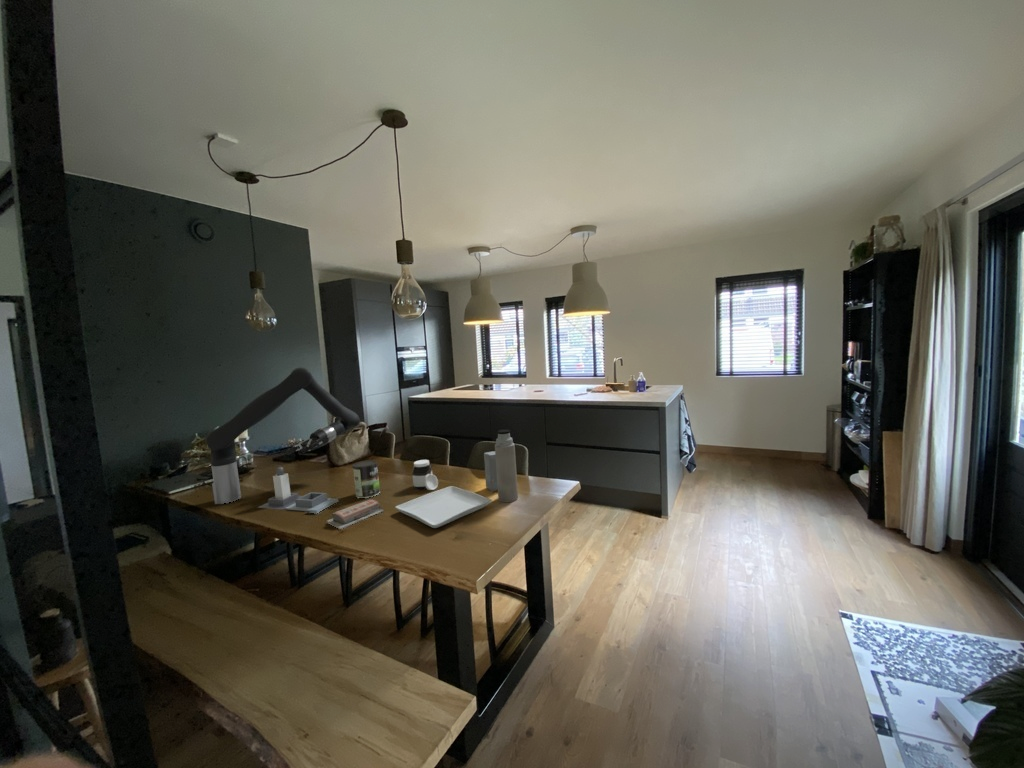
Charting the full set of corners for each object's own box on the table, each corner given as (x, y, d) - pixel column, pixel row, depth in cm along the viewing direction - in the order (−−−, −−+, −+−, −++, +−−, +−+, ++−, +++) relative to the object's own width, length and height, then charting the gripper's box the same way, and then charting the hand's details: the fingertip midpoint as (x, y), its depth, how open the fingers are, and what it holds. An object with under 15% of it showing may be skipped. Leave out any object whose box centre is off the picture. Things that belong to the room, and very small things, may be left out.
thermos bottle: (505, 493, 169) (500, 427, 166) (521, 496, 165) (517, 428, 162) (494, 500, 162) (489, 432, 160) (511, 503, 158) (506, 433, 155)
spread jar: (419, 483, 190) (417, 458, 188) (442, 482, 188) (440, 458, 187) (409, 492, 178) (407, 466, 177) (434, 492, 176) (432, 466, 175)
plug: (276, 503, 172) (271, 469, 171) (284, 499, 176) (279, 466, 175) (283, 503, 171) (279, 469, 170) (291, 500, 175) (287, 466, 173)
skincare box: (491, 492, 172) (489, 455, 170) (485, 487, 178) (482, 452, 176) (509, 487, 175) (507, 452, 174) (502, 483, 182) (499, 448, 180)
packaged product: (369, 496, 164) (383, 501, 158) (370, 507, 165) (384, 513, 158) (325, 512, 150) (339, 518, 144) (326, 524, 151) (340, 531, 144)
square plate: (451, 493, 175) (451, 484, 174) (494, 508, 155) (493, 499, 155) (394, 514, 156) (393, 504, 156) (434, 535, 136) (433, 524, 136)
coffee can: (384, 490, 183) (381, 459, 182) (373, 498, 173) (369, 466, 172) (363, 490, 185) (360, 460, 183) (351, 498, 175) (347, 467, 173)
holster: (257, 509, 169) (256, 501, 169) (285, 497, 182) (284, 489, 182) (283, 511, 165) (282, 503, 165) (309, 498, 178) (308, 491, 178)
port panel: (285, 511, 165) (284, 500, 165) (308, 500, 177) (307, 490, 176) (317, 514, 160) (315, 503, 160) (338, 502, 172) (337, 491, 171)
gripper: (311, 429, 194) (280, 445, 180) (330, 428, 187) (300, 445, 173) (316, 443, 196) (286, 460, 182) (336, 443, 189) (306, 460, 175)
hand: (293, 452), depth 178 cm, fingers open, 8 cm apart
